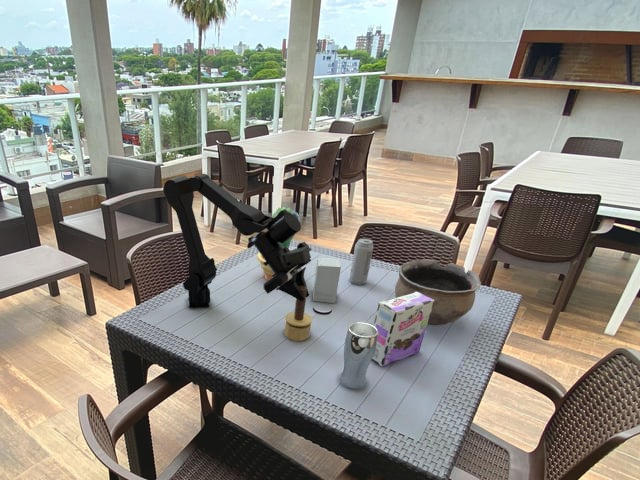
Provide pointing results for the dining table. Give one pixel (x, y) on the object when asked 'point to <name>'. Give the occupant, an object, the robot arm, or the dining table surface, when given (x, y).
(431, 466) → the dining table surface
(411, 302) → the candy box
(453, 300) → the ceramic bowl
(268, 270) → the potted cactus
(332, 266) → the white packaging box
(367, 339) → the beer glass
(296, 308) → the peg on round base
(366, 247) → the energy drink can
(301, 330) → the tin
